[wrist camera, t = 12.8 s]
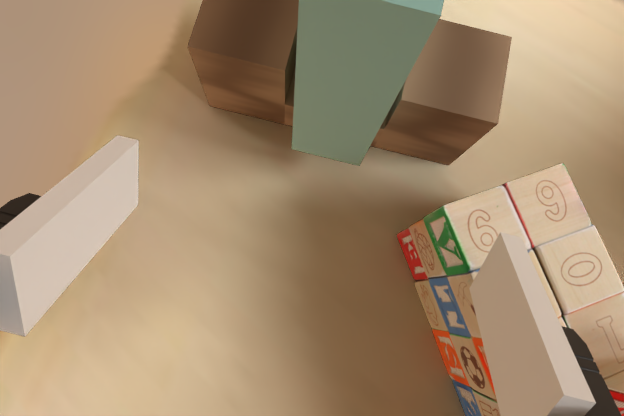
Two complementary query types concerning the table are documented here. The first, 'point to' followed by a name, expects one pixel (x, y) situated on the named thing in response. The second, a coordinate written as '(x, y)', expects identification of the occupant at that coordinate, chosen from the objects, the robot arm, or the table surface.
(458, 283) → the stack of blocks
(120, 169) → the robot arm
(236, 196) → the table surface
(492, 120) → the staggered wooden block
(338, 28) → the rectangular block
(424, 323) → the table surface
